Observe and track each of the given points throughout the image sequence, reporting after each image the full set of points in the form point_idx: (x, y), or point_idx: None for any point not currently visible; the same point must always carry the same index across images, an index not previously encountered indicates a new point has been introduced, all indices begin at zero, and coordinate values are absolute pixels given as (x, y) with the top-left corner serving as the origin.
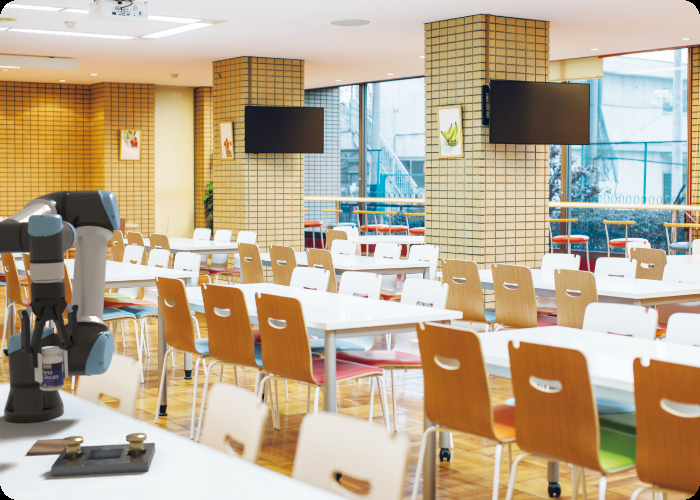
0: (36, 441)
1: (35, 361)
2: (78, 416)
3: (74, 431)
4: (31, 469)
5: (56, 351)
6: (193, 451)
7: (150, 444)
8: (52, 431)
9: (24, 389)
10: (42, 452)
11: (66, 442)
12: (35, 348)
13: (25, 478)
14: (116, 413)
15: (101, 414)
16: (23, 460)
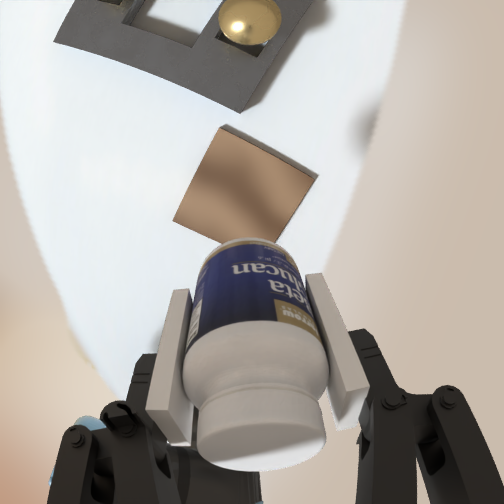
0: None
1: (365, 359)
2: None
3: (171, 290)
4: (337, 69)
5: (233, 403)
6: (18, 19)
7: (65, 31)
8: None
9: None
10: (283, 161)
11: (275, 3)
12: (401, 422)
13: (362, 25)
14: (87, 345)
15: (111, 355)
16: (331, 145)
